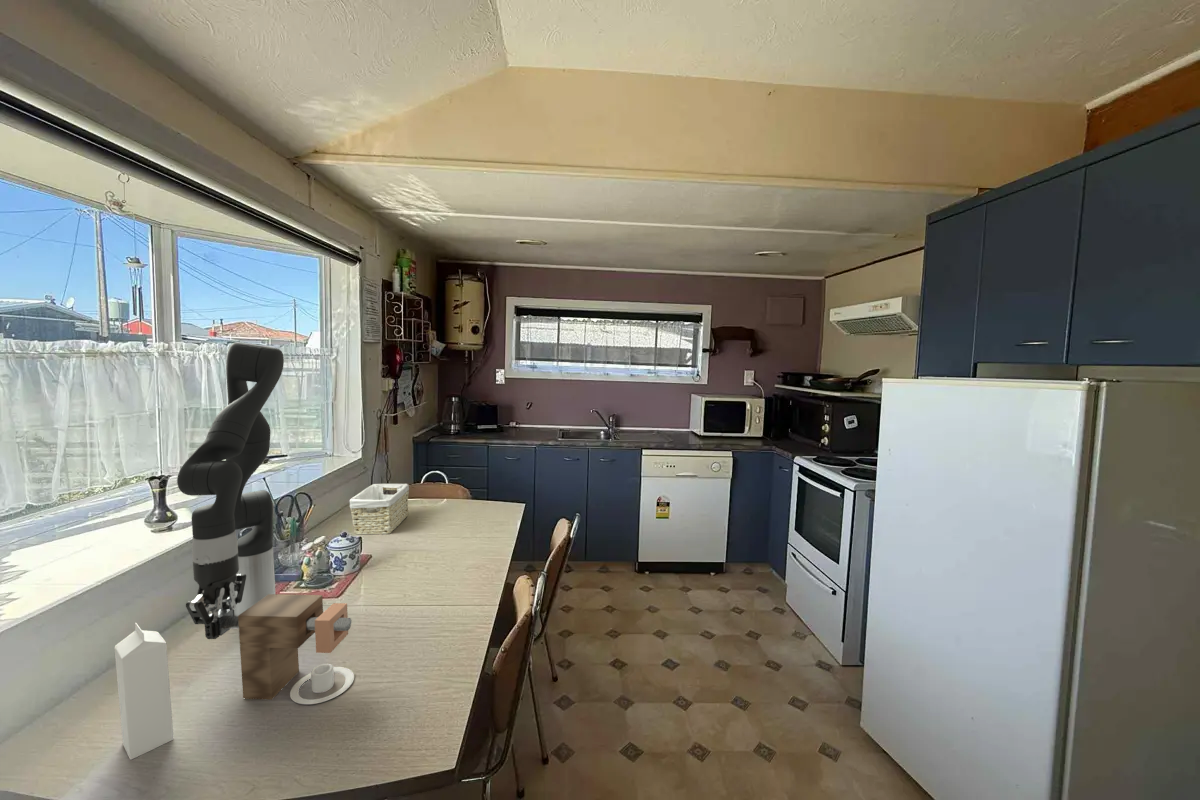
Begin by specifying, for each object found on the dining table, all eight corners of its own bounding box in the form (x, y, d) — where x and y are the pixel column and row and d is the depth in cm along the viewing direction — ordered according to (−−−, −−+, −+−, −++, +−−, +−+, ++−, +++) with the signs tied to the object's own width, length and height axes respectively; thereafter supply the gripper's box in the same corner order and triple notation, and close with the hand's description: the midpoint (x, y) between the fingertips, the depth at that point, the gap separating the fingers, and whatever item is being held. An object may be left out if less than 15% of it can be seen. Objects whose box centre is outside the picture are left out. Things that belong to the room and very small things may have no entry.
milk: (165, 725, 94) (157, 614, 93) (174, 740, 91) (166, 625, 89) (121, 744, 90) (112, 628, 88) (129, 761, 86) (120, 640, 84)
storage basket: (390, 536, 193) (389, 499, 191) (348, 536, 192) (347, 499, 190) (411, 516, 216) (410, 483, 215) (373, 516, 216) (372, 483, 214)
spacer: (316, 652, 102) (314, 620, 101) (334, 633, 109) (333, 603, 108) (330, 653, 102) (329, 620, 101) (348, 633, 108) (347, 603, 108)
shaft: (207, 635, 103) (205, 617, 103) (220, 626, 107) (218, 608, 107) (344, 637, 103) (343, 619, 103) (352, 628, 106) (352, 611, 106)
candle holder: (295, 677, 109) (294, 659, 109) (355, 664, 114) (355, 646, 113) (285, 714, 98) (284, 693, 98) (352, 698, 103) (351, 678, 102)
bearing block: (243, 699, 102) (238, 615, 100) (272, 671, 111) (268, 594, 109) (300, 700, 102) (296, 616, 100) (325, 672, 110) (322, 595, 109)
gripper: (224, 541, 111) (228, 614, 112) (168, 568, 97) (174, 652, 98) (257, 542, 111) (261, 615, 112) (206, 569, 96) (211, 653, 98)
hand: (220, 632), depth 105 cm, fingers closed on shaft, 3 cm apart
